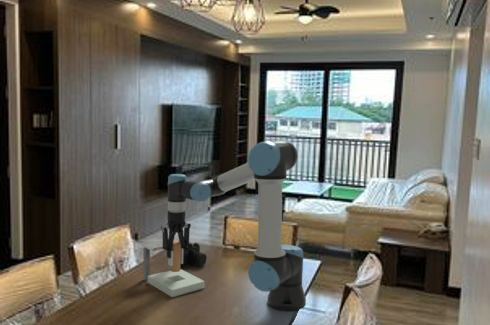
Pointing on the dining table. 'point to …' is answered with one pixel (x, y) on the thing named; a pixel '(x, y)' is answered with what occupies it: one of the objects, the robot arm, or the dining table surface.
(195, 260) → the camera
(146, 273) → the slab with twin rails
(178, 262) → the peg
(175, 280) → the socket board
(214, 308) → the dining table surface
